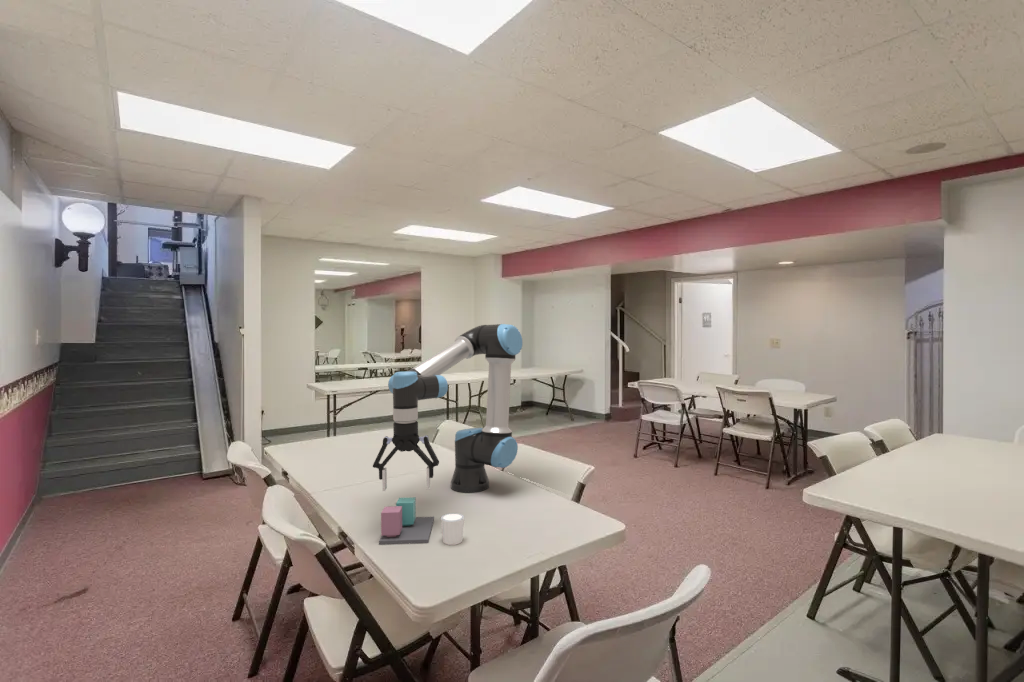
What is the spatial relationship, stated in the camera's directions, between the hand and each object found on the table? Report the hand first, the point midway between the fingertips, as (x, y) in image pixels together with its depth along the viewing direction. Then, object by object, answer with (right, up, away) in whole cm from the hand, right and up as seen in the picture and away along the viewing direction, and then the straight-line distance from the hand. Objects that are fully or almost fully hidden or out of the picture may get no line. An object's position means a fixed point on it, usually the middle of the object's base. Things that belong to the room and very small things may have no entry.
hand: (406, 489), depth 150 cm
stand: (+1, -12, -3) cm, 12 cm away
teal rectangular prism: (0, -10, 0) cm, 10 cm away
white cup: (+16, -12, -10) cm, 22 cm away
